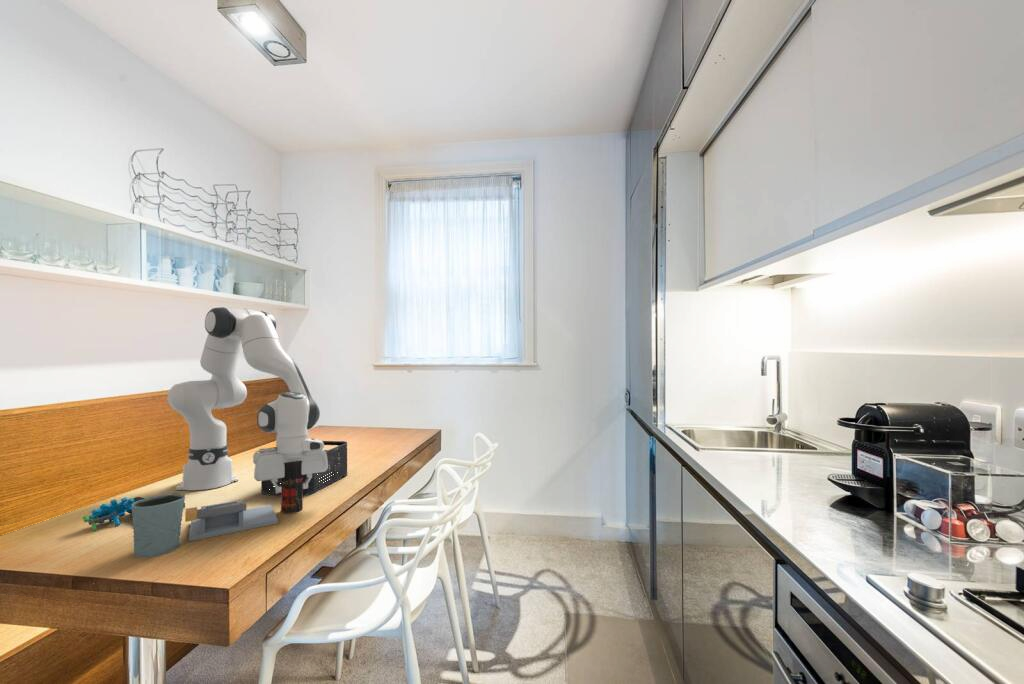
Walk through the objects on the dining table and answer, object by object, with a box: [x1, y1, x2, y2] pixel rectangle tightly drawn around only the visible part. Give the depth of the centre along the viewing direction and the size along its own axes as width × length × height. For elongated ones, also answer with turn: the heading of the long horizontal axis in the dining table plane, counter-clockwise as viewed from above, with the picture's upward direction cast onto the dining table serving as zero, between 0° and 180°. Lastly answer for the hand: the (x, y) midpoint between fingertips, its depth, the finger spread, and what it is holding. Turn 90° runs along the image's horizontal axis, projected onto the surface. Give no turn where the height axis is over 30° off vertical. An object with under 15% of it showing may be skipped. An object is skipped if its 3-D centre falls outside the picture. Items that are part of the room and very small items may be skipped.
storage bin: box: [260, 440, 348, 496], centre depth 161 cm, size 29×19×13 cm
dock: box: [188, 499, 278, 542], centre depth 122 cm, size 15×20×5 cm
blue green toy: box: [82, 496, 134, 532], centre depth 122 cm, size 11×6×10 cm
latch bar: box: [184, 501, 247, 523], centre depth 116 cm, size 3×13×3 cm, turn 125°
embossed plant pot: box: [131, 493, 186, 559], centre depth 106 cm, size 10×10×12 cm
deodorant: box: [280, 461, 304, 515], centre depth 133 cm, size 6×6×15 cm
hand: (292, 490), depth 133 cm, fingers closed on deodorant, 6 cm apart
